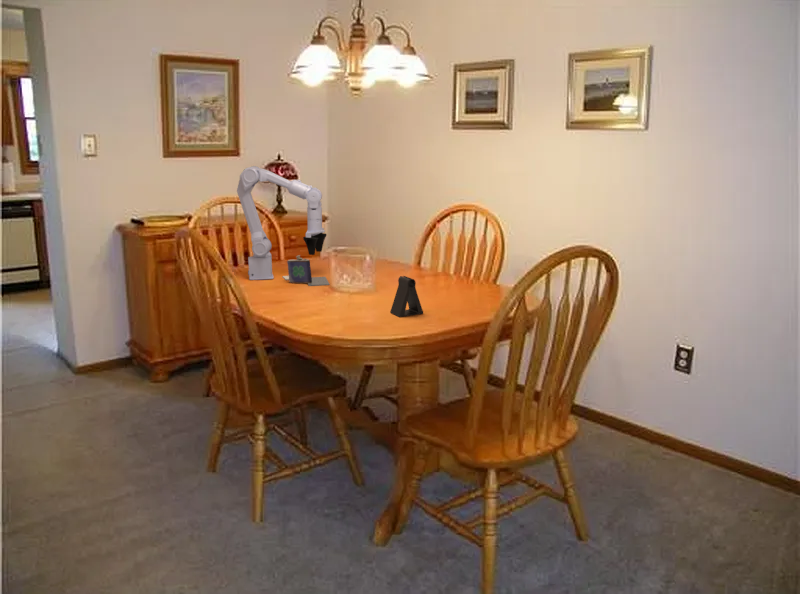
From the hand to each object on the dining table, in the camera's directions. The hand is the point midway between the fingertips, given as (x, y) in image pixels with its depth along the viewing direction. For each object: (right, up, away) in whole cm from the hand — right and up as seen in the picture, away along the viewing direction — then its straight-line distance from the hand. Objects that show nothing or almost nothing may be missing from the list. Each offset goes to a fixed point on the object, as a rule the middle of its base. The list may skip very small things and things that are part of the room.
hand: (315, 253), depth 274 cm
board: (+1, -12, -5) cm, 13 cm away
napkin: (-9, -10, +2) cm, 13 cm away
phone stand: (+36, -23, -51) cm, 67 cm away
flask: (-5, -12, -7) cm, 15 cm away
